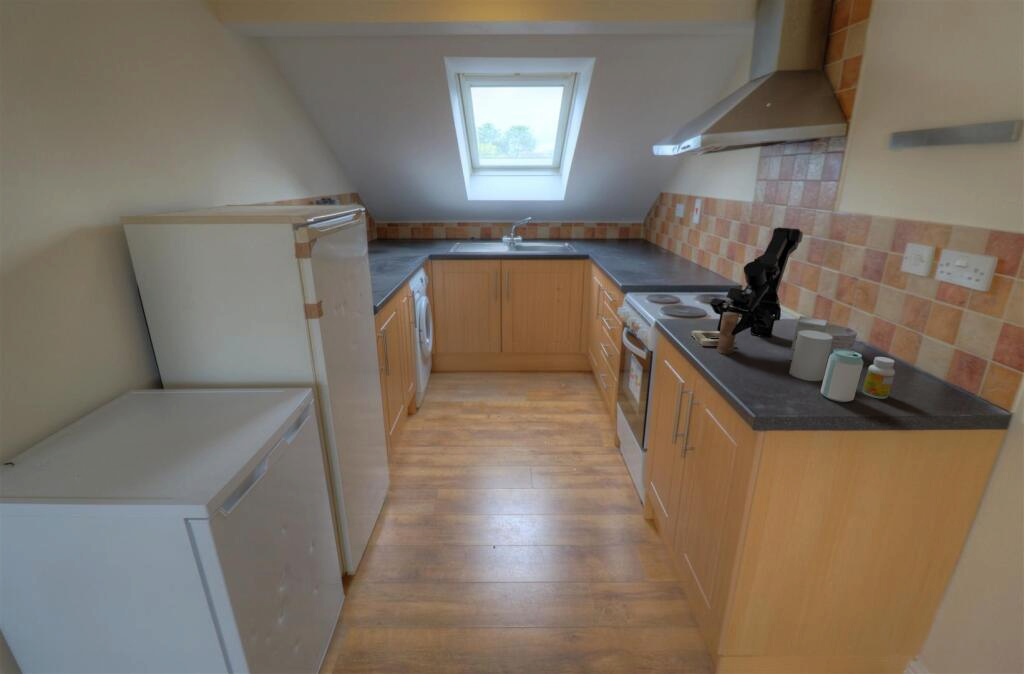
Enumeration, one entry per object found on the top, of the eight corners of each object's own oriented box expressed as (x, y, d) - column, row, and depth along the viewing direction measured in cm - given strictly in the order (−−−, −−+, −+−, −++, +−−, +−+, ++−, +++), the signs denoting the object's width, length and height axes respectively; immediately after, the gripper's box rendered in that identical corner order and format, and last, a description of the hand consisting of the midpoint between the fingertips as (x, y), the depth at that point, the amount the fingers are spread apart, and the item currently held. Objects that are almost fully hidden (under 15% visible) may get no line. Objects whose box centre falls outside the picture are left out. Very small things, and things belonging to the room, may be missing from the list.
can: (838, 390, 123) (849, 347, 119) (860, 402, 117) (872, 357, 113) (813, 391, 122) (824, 348, 119) (834, 404, 116) (846, 358, 112)
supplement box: (787, 360, 144) (796, 320, 140) (791, 353, 150) (799, 315, 146) (815, 366, 140) (825, 325, 136) (818, 359, 146) (828, 319, 142)
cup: (818, 372, 135) (828, 332, 132) (826, 382, 128) (836, 341, 124) (786, 368, 138) (795, 328, 134) (792, 378, 131) (801, 337, 127)
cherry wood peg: (732, 350, 151) (739, 313, 147) (731, 355, 147) (738, 316, 143) (717, 348, 153) (723, 311, 149) (715, 352, 149) (722, 314, 145)
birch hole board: (722, 336, 165) (723, 331, 164) (735, 347, 154) (736, 341, 154) (690, 335, 165) (691, 330, 165) (701, 346, 155) (702, 340, 154)
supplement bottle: (856, 390, 124) (866, 355, 121) (875, 389, 124) (885, 355, 121) (873, 399, 119) (883, 363, 116) (893, 399, 119) (903, 363, 116)
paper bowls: (795, 341, 162) (799, 318, 160) (848, 348, 155) (853, 325, 153) (796, 354, 149) (801, 330, 147) (854, 363, 143) (860, 338, 140)
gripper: (717, 273, 152) (690, 310, 150) (774, 284, 137) (745, 325, 135) (728, 294, 159) (702, 330, 157) (783, 306, 144) (756, 346, 142)
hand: (725, 332), depth 147 cm, fingers closed on cherry wood peg, 5 cm apart
